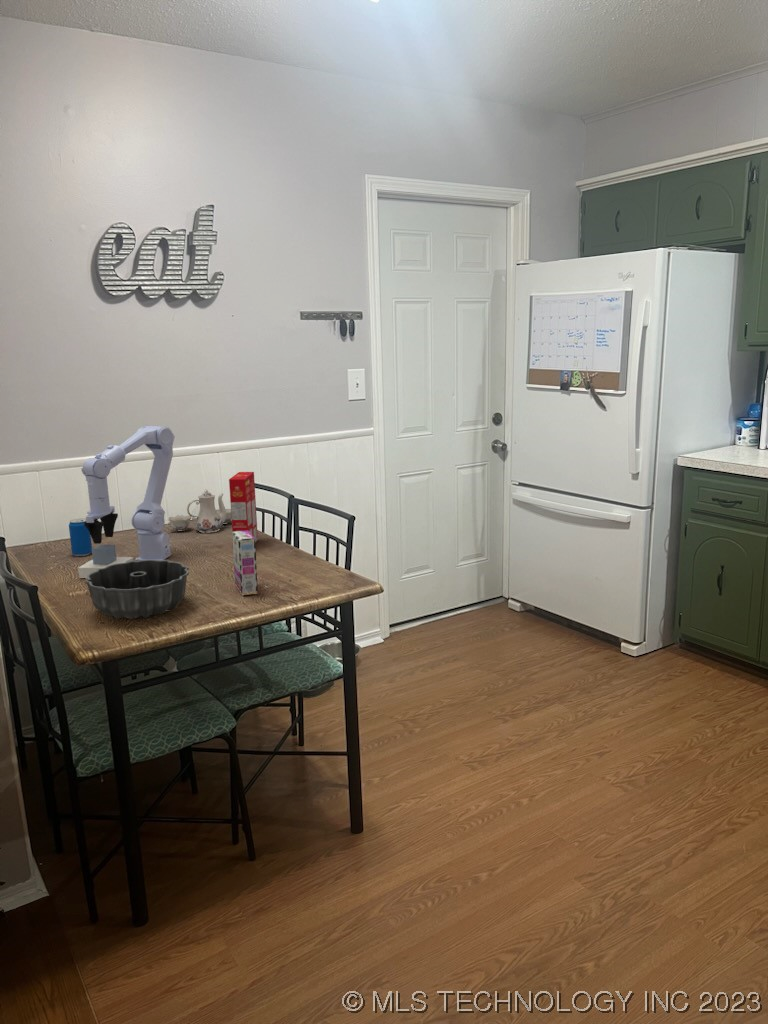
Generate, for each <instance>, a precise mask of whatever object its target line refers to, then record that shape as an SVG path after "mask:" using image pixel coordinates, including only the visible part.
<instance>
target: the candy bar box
mask: <svg viewBox="0 0 768 1024" xmlns="http://www.w3.org/2000/svg"><path fill="white" fill-rule="evenodd" d="M231 534H232V549H233V550H232V551H233V552H232V553H233V569H234V573H233V574H234V585H235V584H236V585H237V587H238V588H239V590H240V591H241V593H246V592H252V591H258V590H259V589H258V571H257V551H256V550H257V548H256V546H257V545H256V544H257V543H255V538H254V537H253V536H252V534H251V533H250V532H249V531H248V530H246V531H236V532H232V531H231ZM237 587H236V588H237ZM239 590H238V591H239ZM258 592H259V591H258Z"/></svg>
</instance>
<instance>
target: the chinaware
mask: <svg viewBox="0 0 768 1024" xmlns="http://www.w3.org/2000/svg"><path fill="white" fill-rule="evenodd" d="M223 496H224V493H220V494H219V495H218V497H217V502H218V509H216V506H215V497H216V495H215V494H212V493H211V492H210V491H209V490H208V489H205V490H204V491H203V492H202V493H201V495H198V496H197V498H198V499H193V500H191V501H190V502H189V503H188V504H187V506H186V511H187V514H188V515H187V516H185V515H183V514H180V515H179V514H178V515H176V516H169V518H168V522H167V523H166V529H167V530H168V531H171V530H173V532H177V531H178V530H186V529H188V527H189V526H190V522H191V520H192V522H193V523H194V527H195V529H196V530H197V532H198V531H202V532H208V531H215V530H218V529H220V530H221V528H222V527H223V526H224V525H223V523H230V521H231V522H232V518H231V508H226V507H225V505H224V501H223ZM192 503H195V504H196V505H197V506H198V505H199V511H198V515H192V514H191V513H190V509H189V508H190V506H191V505H192ZM169 524H170V526H171V527H172V528H168V527H169V526H168V525H169Z"/></svg>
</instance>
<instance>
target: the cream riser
mask: <svg viewBox="0 0 768 1024" xmlns="http://www.w3.org/2000/svg"><path fill="white" fill-rule="evenodd" d="M129 561H134V557H133V556H116V561H114V562H112V563H110V564H109V565H113V564H118V563H126V562H129ZM109 565H99V564H93V558H91V560H89V561H87V562H86V563H84V564H82V565H80V566H79V567H77V569H78V570H77V571H78V578H87V576H88V575H89V574H90V573H93V572H95V571H96V570H97V569H100V568H105V567H107V566H109Z"/></svg>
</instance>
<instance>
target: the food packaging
mask: <svg viewBox="0 0 768 1024" xmlns="http://www.w3.org/2000/svg"><path fill="white" fill-rule="evenodd" d="M255 484H256V483H255V471H239V472H236V474H234V475H233V476H232V477H230V478H229V479H228V485H229V498H230V499H229V500H230V509H231V529H232V531H231V533H232V532H236V531H246V530H248V531H249V532H250V533H251V534H252V536H253V537H254V538H255V540H256V539H257V538H258V539H259V536H258V535H259V534H258V521H257V504H256V503H257V501H256V499H257V498H256V488H255V487H256V486H255Z"/></svg>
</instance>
